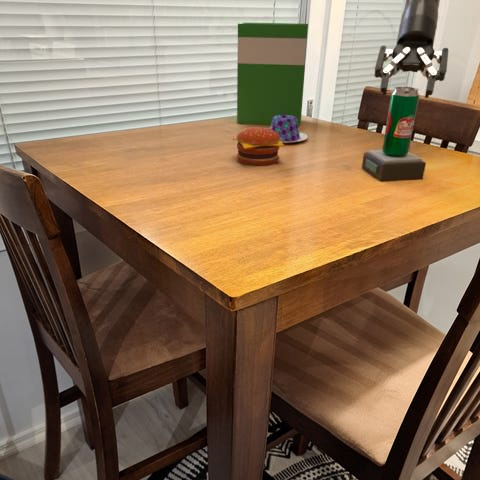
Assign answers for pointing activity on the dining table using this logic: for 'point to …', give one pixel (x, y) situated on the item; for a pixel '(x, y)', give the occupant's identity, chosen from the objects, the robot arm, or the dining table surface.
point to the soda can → (400, 121)
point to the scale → (393, 166)
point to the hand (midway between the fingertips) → (405, 94)
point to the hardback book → (270, 71)
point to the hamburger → (258, 146)
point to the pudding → (287, 129)
